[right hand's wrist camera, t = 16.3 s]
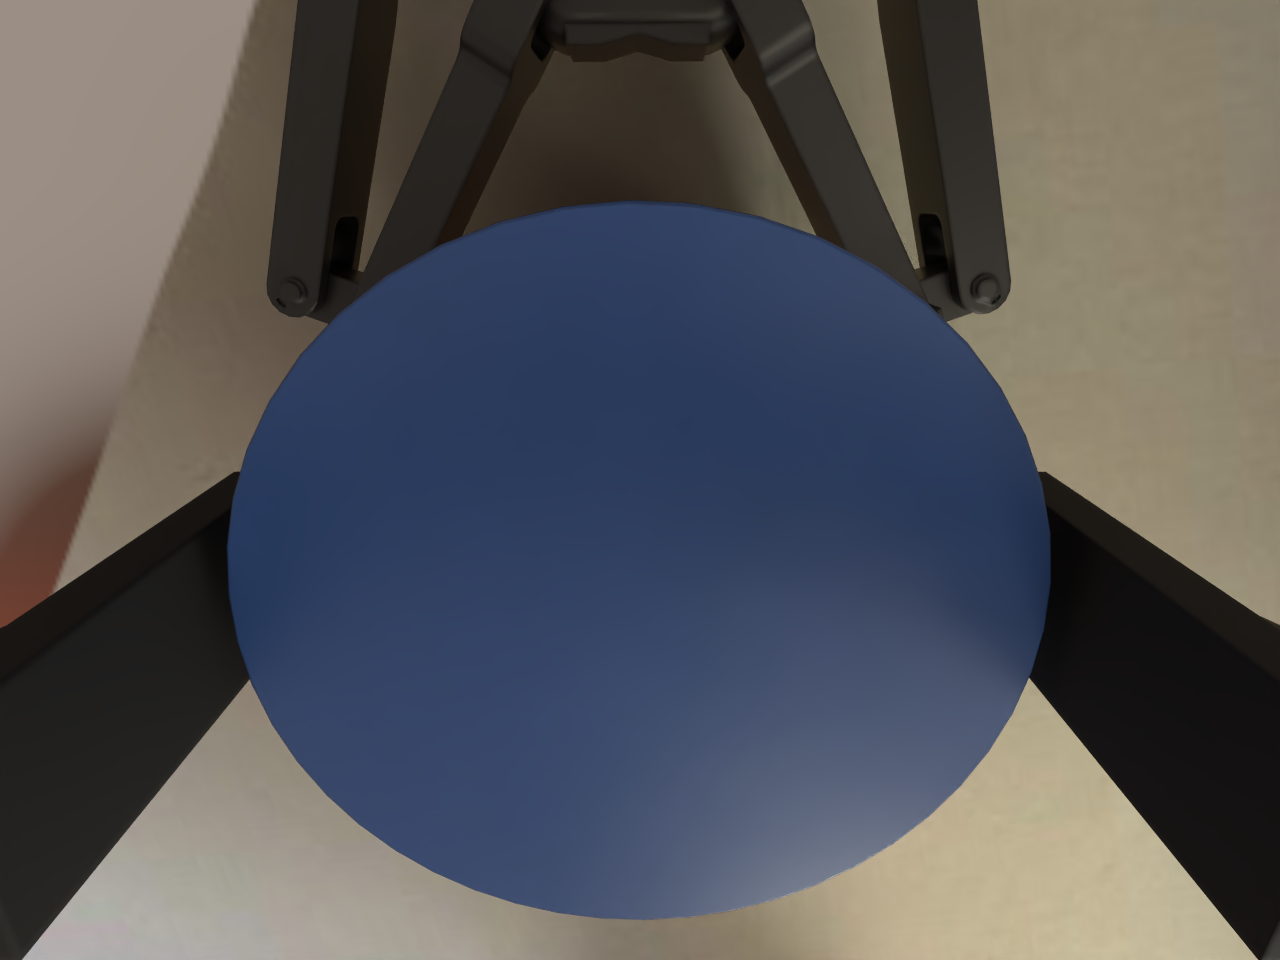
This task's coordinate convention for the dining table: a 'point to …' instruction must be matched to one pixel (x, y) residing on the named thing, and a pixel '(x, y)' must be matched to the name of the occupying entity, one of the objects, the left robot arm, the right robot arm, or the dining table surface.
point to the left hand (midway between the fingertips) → (640, 560)
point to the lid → (639, 560)
